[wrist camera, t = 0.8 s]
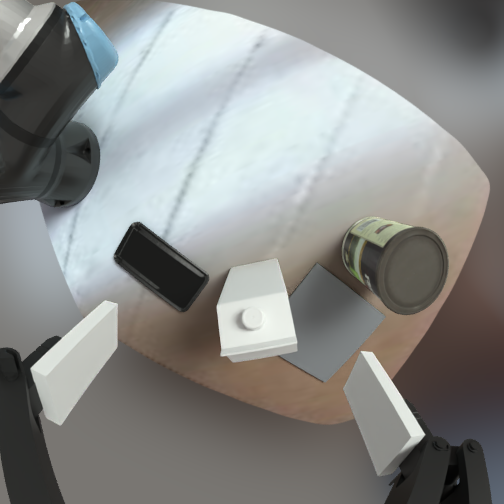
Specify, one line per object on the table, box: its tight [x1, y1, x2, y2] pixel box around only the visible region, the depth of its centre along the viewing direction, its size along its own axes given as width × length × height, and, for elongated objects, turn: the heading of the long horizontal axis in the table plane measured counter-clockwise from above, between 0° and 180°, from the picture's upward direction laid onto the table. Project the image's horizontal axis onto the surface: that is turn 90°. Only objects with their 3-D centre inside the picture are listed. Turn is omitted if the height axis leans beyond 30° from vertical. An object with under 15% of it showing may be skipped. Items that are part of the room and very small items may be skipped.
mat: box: [279, 263, 386, 382], centre depth 44 cm, size 16×16×1 cm
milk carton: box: [217, 259, 298, 362], centre depth 34 cm, size 7×7×19 cm
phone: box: [114, 222, 209, 312], centre depth 43 cm, size 8×1×15 cm
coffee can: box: [342, 217, 449, 315], centre depth 35 cm, size 10×10×14 cm
